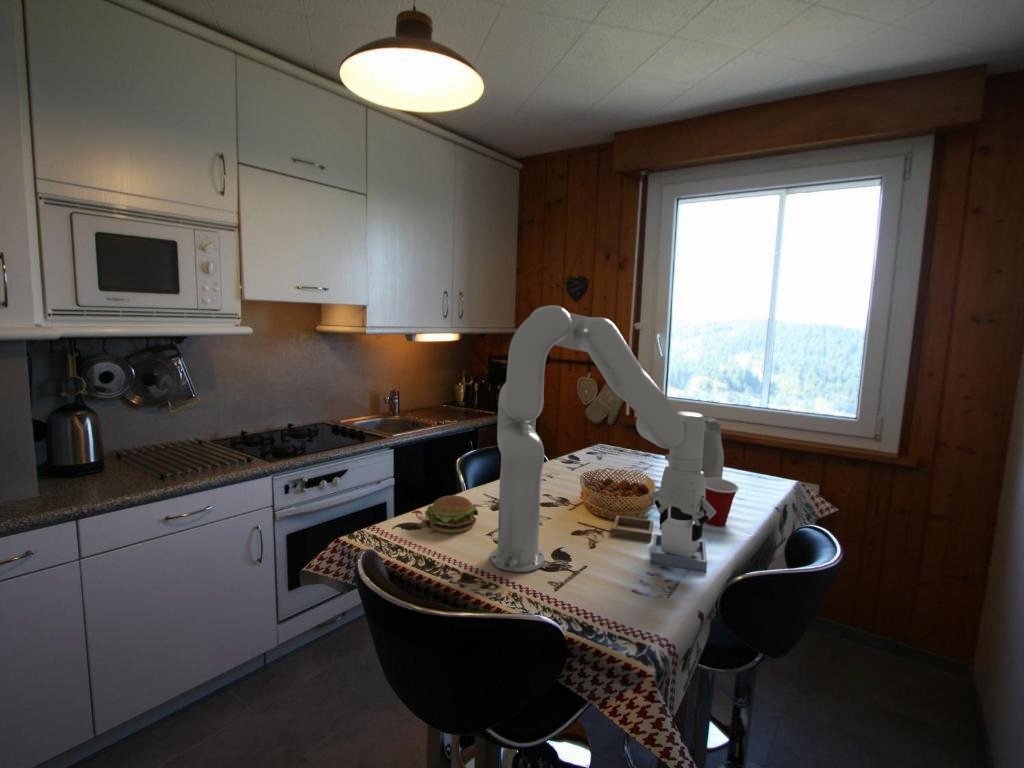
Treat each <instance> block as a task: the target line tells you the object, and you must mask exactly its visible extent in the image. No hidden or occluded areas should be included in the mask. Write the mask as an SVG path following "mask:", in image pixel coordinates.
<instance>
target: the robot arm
mask: <svg viewBox="0 0 1024 768" xmlns="http://www.w3.org/2000/svg"><path fill="white" fill-rule="evenodd" d="M553 346H558V347H561V348H565V349H571V350H576V351H580V352H585V353H588V356H589V358H590V359H591V360H592V361H593V363H594V364H595V366H596V367H597V369H598V370H599V372H600V374H602V376H603V378H604V380H605V381H606V383H607V385H608V386H609V387H610V389H611V390H612V391H613V393H615V395H616V396H618V397H619V398H620V399H621V400H623V401H624V402H625V403H626V404H628V406H630V407H631V409H632V410H633V411H634V412H635V413H636V414H637V419H636V422H635V426H636V427H635V428H636V430H637V432H638V434H639V435H640V436H641V437H642V438H643V439H645V440H647V441H649V442H651V443H652V444H655V445H656V446H657V447H660V448H661V449H665V450H666V449H667V450H668V449H669V453H668V454H665V455H664V460H666V461H667V465H665V467H664V470H663V473H662V475H661V482H660V487H659V489H658V490H655V491H653V492H651V494H650V496H651V498H652V500H653V501H654V505H655V507H656V509H657V512H658V514H659V523H658V524H659V530H661V525H662V523H663V522H664V521H666V520H667V519H668V508H669V507H670V506H674V507H677V508H679V509H681V512H682V513H684V514H688V515H692V518H693V520H694V522H695V524H694V525H693V526H692V541H697V540H699V539H701V538H702V536H703V529H704V527H703V526H704V524H706V523H705V522H707V521H708V520H710V519H711V517H713V516H714V515H715V513H716V510H715V509H714V508H713V507H712V506H711V505H710V504H709V503H708V502H707V501H706V500H705V478H704V472H703V471H701V469H702V456H703V443H704V431H705V418H704V417H705V416H704V415H703V414H701V413H698V412H693V411H676V409H675V408H674V406H673V405H672V403H671V402H670V400H669V399H668V397H667V396H666V395H665V393H664V392H663V391H662V390H661V388H659V386H658V385H657V384H656V383H655V382H654V380H653V379H652V377H651V376H650V375H649V374H648V373H647V372H646V371H645V370H644V368H643V367H642V365H641V363H639V361H638V360H637V358H636V356H635V355H634V352H633V351H632V349H631V348H630V347H629V345H628V343H627V342H626V340H625V338H624V337H623V335H622V334H621V332H620V330H619V329H618V328H617V326H616V325H615V323H613V321H611V320H610V319H608V318H606V317H601V316H600V317H599V316H597V317H596V316H595V317H591V316H585V315H580V314H575V313H571V312H569V311H568V310H566V309H565V308H564V307H562V306H560V305H555V304H553V305H551V304H550V305H545V306H541V307H538V308H536V309H534V311H532V313H530V315H529V317H527V318H526V319H525V320H524V321H523V322H522V323H521V325H520V326H519V327H518V328H517V330H516V331H515V332H514V335H513V336H512V338H511V341H510V345H509V349H508V356H507V366H506V367H507V369H506V380H505V383H504V384H503V385H502V386H501V389H500V392H499V396H498V405H497V406H498V407H497V409H498V410H497V426H496V427H497V429H496V431H497V434H496V436H497V437H496V440H497V441H496V442H497V447H498V450H499V453H500V455H501V456H500V457H501V458H500V460H501V461H500V475H499V489H498V490H499V493H498V495H499V498H498V525H497V527H498V531H497V547H496V548H495V549H494V550H492V551H491V554H490V562H491V563H492V565H494V567H496V568H497V569H501V570H503V571H506V572H512V573H527V572H533V571H535V570H538V569H540V568H541V567H542V566H543V565H544V563H545V555H544V553H543V552H542V551H540V550H539V538H540V537H539V536H540V534H539V533H540V517H541V516H540V515H541V514H540V513H541V490H542V487H541V485H542V476H543V468H544V462H545V461H544V460H545V448H544V444H543V441H542V439H541V437H540V436H539V435H538V433H537V431H536V426H537V425H536V423H537V418H539V416H540V415H541V413H542V411H543V408H544V403H545V401H544V395H545V391H544V390H545V389H544V388H545V373H546V372H545V369H546V363H547V358H548V355H549V352H550V351H551V349H552V348H553ZM704 509H705V510H706V511H707V513H706V515H705V516H704V513H703V511H704Z"/></svg>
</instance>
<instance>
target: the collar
mask: <svg viewBox="0 0 1024 768" xmlns="http://www.w3.org/2000/svg"><path fill="white" fill-rule="evenodd" d="M613 522H614V523H613V524H612V527H611V536H613V537H620V538H625V539H631V540H638V541H645V542H652V536H653V529H654V520H650V519H644V518H636V517H630V516H623V515H615V519H614V521H613ZM619 525H626V526H631V527H639V528H646V529H648V532H646V531H641V530H634V529H626V528H620V527H619Z"/></svg>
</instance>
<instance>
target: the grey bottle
mask: <svg viewBox="0 0 1024 768" xmlns="http://www.w3.org/2000/svg"><path fill="white" fill-rule="evenodd" d="M704 418H705V431H704V443H703V456H702V469H701V471H703V472H704V478H719V479H723V472H724V461H725V460H724V459H725V456H724V455H725V454H724V448H723V443H722V442H723V441H722V436H721V435H722V434H721V433H722V432H721V429H722V427H721V424H720V422H719V420H717V419H716V418H714V417H709V416H704Z"/></svg>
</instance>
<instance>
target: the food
mask: <svg viewBox="0 0 1024 768" xmlns="http://www.w3.org/2000/svg"><path fill="white" fill-rule="evenodd" d="M424 515H425V516H426V518H427V519H428V521H429V523H430V526H431V528H432V529H433V530H434V531H437V532H440V533H443V534H445V533H446V534H458V533H459V534H461V533H463V532H467V531H470V530H471V529H472V528H473V527H474V524H476V520H477V519H476V517H475V516H479V510H477V507H476V506H475V505H473V502H471V500H470V499H468V498H466V497H465V496H462V495H461V496H460V495H455V494H454V495H445V496H442V497H439V498H438V499H436V500H435V501H434V502H433V503H432V504H431V503H430V504H429V505H428V506H427V507H426V510H425V511H424Z"/></svg>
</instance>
